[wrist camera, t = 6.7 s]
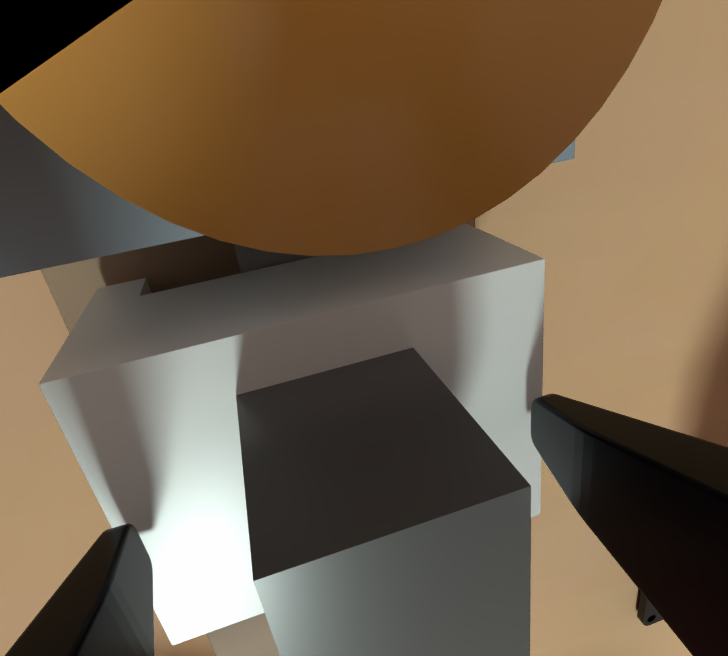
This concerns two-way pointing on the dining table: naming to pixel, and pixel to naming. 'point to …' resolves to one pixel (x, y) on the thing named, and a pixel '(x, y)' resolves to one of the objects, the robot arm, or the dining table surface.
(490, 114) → the button
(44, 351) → the dining table surface
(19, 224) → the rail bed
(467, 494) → the carriage
